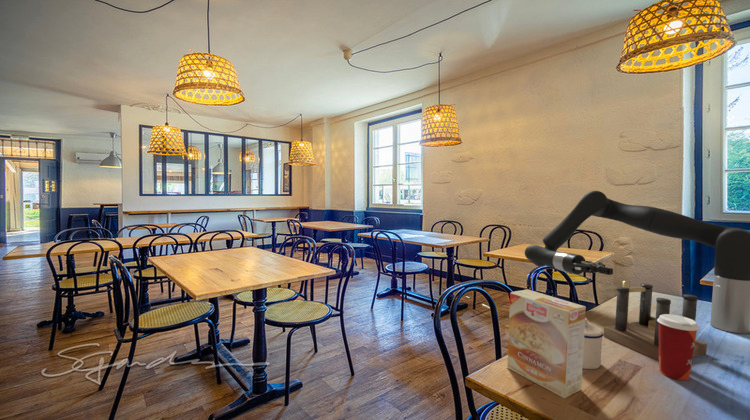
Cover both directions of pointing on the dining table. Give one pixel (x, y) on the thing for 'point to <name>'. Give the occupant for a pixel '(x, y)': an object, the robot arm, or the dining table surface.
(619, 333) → the base with upright pegs
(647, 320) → the grey post frame
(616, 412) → the dining table surface
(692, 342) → the paper cup
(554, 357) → the coffeecake box
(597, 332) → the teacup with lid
